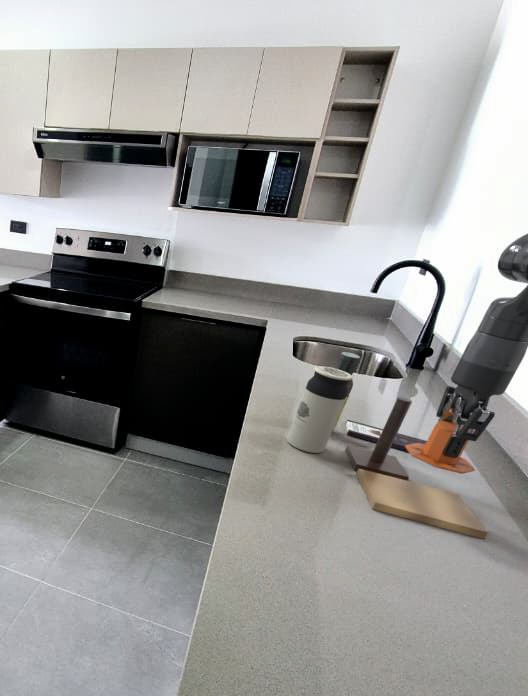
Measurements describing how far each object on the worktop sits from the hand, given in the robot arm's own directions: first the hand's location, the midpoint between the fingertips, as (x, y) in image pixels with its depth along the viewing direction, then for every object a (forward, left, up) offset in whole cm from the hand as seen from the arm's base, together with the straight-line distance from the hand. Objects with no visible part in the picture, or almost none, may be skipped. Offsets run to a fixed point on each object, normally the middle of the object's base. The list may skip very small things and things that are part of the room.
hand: (443, 449), depth 91 cm
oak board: (0, 0, -12) cm, 12 cm away
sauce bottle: (+13, -29, -12) cm, 34 cm away
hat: (0, 0, -2) cm, 2 cm away
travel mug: (+18, -16, -12) cm, 27 cm away
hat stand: (+4, -14, -12) cm, 19 cm away
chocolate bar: (-3, -33, -12) cm, 35 cm away
